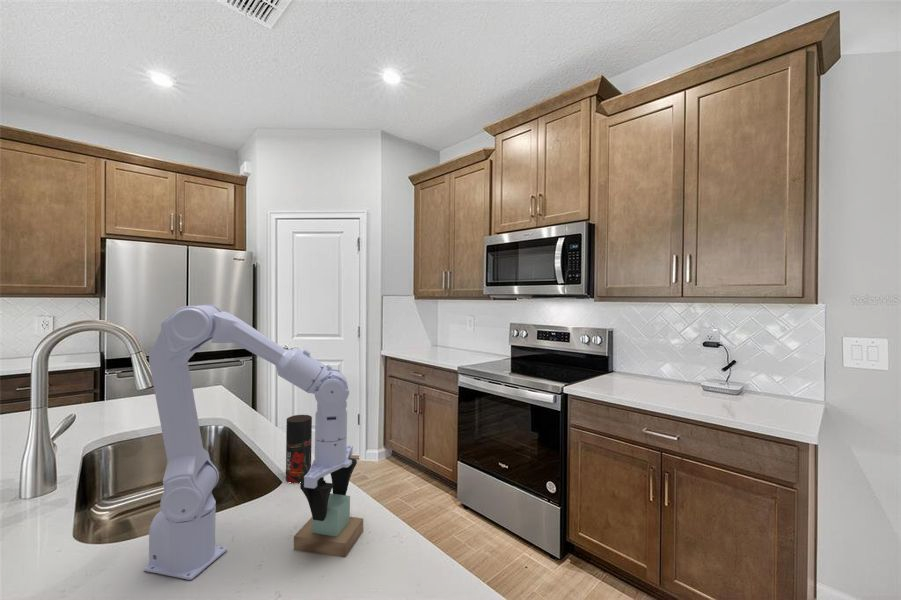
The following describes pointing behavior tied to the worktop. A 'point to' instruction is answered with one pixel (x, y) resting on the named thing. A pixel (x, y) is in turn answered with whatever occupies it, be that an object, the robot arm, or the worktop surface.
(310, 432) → the deodorant
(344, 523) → the sage cube
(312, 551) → the walnut block
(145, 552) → the worktop surface
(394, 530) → the worktop surface
